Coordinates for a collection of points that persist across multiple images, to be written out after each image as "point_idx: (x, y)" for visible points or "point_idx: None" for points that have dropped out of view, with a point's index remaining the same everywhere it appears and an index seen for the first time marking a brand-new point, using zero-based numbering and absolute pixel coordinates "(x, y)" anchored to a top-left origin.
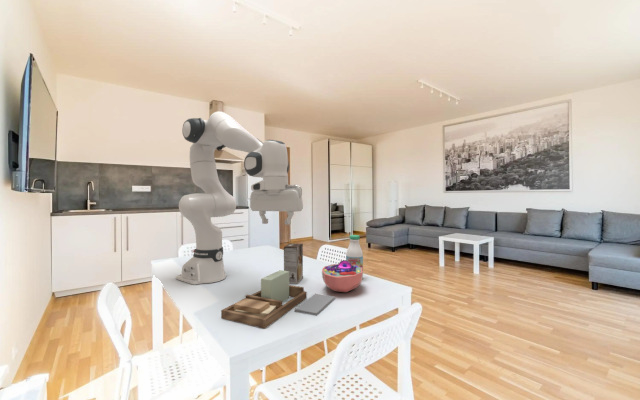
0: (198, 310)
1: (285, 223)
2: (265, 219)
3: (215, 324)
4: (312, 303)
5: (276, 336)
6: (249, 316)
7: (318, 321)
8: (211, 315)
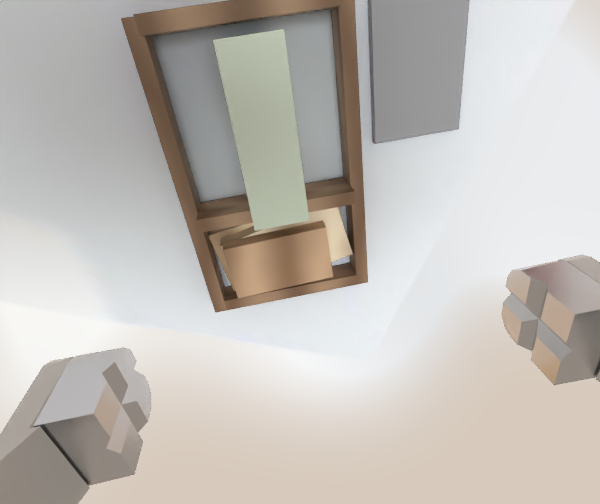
0: (108, 308)
1: (524, 333)
2: (136, 464)
3: (237, 322)
4: (411, 56)
5: (407, 277)
6: (317, 291)
7: (472, 157)
8: (176, 303)
